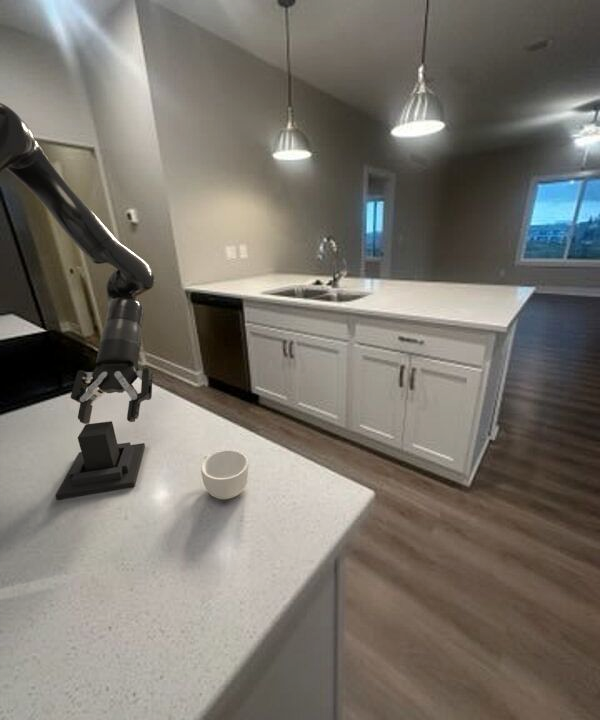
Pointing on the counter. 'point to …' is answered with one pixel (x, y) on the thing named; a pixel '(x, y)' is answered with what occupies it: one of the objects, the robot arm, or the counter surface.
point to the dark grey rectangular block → (99, 446)
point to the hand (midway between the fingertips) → (107, 422)
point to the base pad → (106, 485)
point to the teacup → (225, 473)
